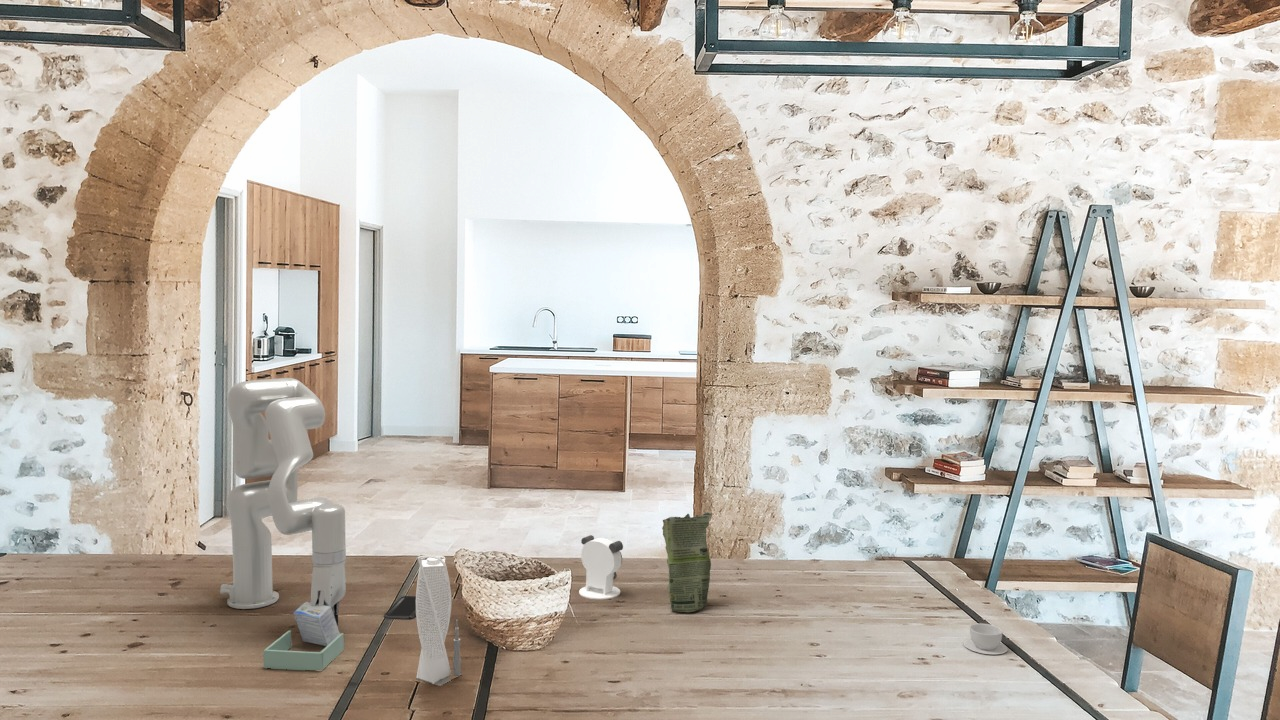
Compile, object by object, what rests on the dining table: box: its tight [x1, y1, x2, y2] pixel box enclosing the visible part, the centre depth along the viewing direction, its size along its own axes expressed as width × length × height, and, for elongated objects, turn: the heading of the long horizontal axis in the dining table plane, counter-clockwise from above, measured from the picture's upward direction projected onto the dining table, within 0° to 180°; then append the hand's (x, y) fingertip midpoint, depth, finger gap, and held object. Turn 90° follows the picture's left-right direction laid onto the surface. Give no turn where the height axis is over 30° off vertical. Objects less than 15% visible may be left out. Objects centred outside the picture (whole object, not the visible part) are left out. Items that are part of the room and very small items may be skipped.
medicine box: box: [293, 601, 341, 647], centre depth 218 cm, size 8×4×9 cm, turn 66°
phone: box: [383, 595, 416, 621], centre depth 242 cm, size 8×1×15 cm
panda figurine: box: [578, 534, 624, 600], centre depth 256 cm, size 12×11×15 cm
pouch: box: [661, 511, 712, 613], centre depth 246 cm, size 11×12×25 cm
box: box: [262, 630, 345, 671], centre depth 209 cm, size 13×12×4 cm
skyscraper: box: [415, 554, 462, 687], centre depth 200 cm, size 8×8×28 cm
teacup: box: [963, 622, 1009, 655], centre depth 221 cm, size 10×10×5 cm
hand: (330, 631), depth 223 cm, fingers closed
